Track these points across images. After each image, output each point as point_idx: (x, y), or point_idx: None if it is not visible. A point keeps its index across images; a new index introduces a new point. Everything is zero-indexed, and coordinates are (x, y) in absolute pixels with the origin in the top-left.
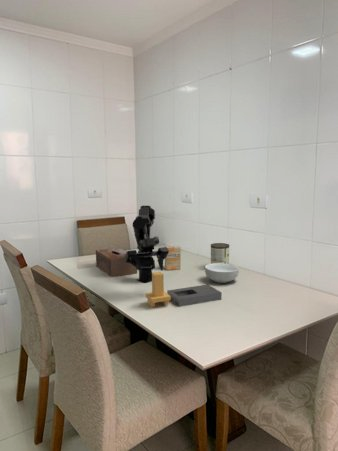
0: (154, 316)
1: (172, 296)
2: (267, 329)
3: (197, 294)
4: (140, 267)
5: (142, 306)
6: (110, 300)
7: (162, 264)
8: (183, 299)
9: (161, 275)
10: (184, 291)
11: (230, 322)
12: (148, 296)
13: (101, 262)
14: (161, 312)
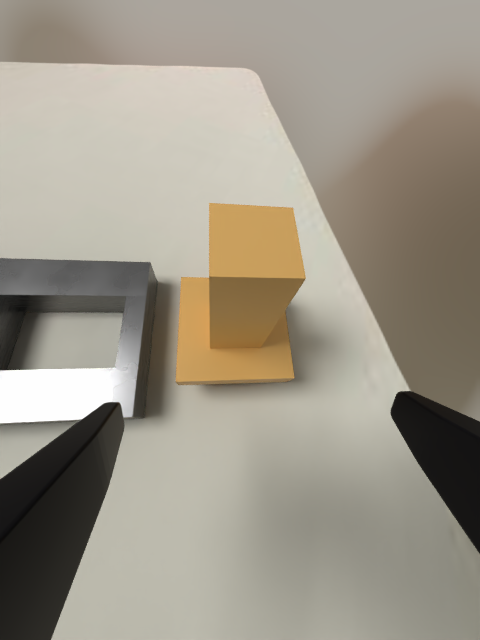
0: None
1: (145, 338)
2: (36, 80)
3: (17, 280)
4: (473, 426)
5: (303, 343)
6: None
7: (39, 458)
8: (126, 264)
9: (228, 213)
10: (35, 371)
11: (86, 131)
12: (286, 329)
13: None
14: None
